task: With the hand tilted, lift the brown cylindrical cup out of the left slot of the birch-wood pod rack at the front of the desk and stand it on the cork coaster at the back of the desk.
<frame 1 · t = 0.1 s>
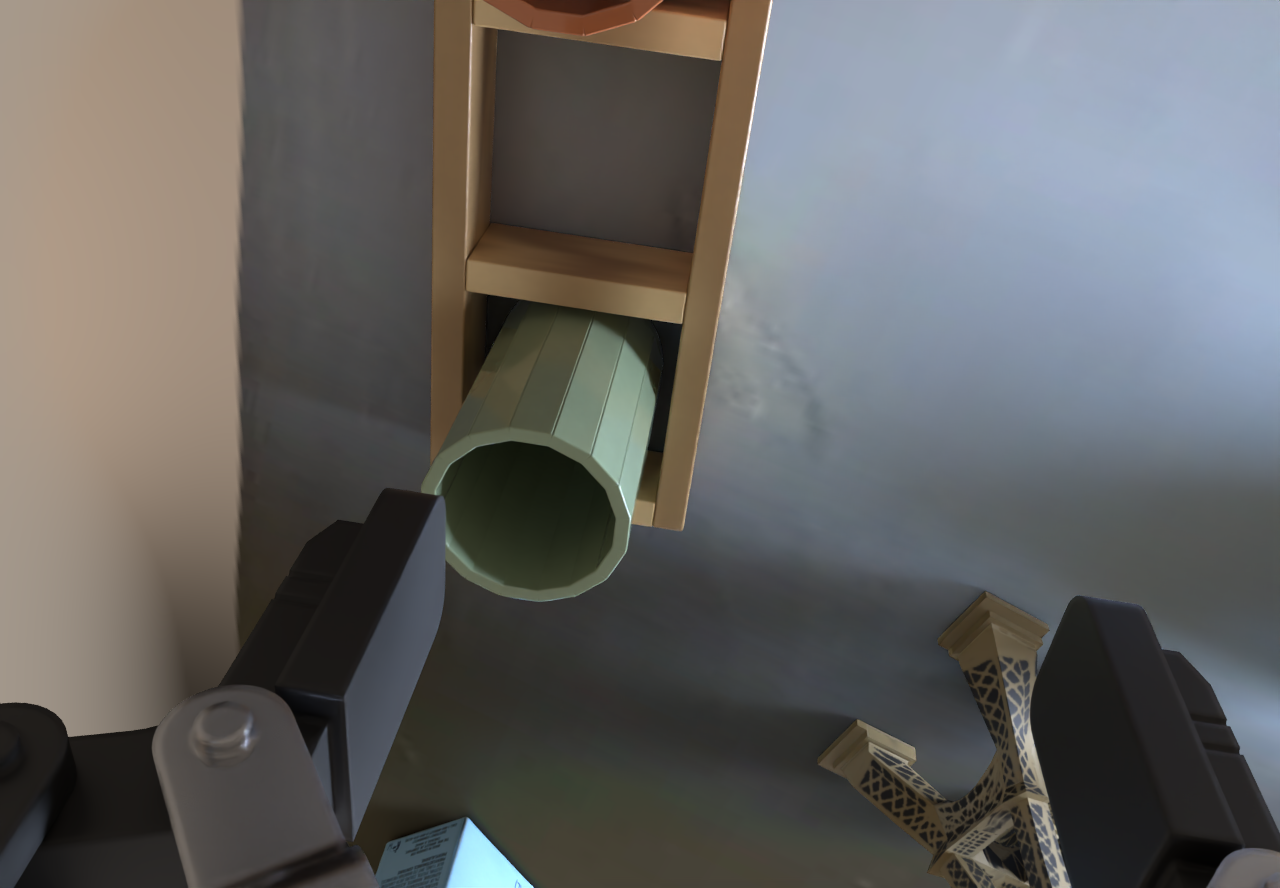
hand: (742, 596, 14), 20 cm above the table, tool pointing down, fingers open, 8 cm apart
pod rack: (601, 134, 31), on the table
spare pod: (581, 356, 35), resting in pod rack
eiffel tower: (1007, 733, 42), on the table
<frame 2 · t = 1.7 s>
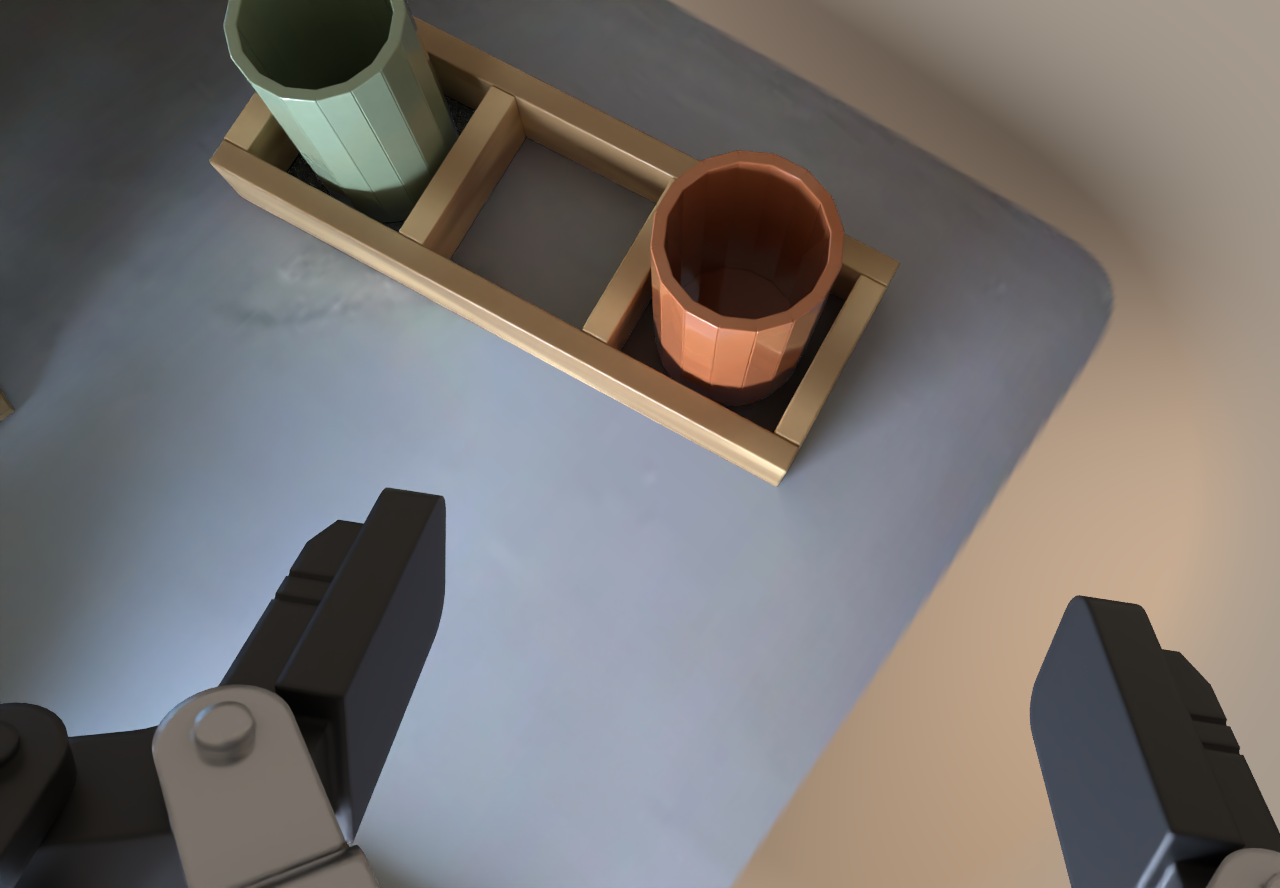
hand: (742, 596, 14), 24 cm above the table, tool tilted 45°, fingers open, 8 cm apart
pod rack: (556, 243, 40), on the table
brown cylindrical cup: (729, 334, 39), resting in pod rack
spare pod: (390, 156, 41), resting in pod rack
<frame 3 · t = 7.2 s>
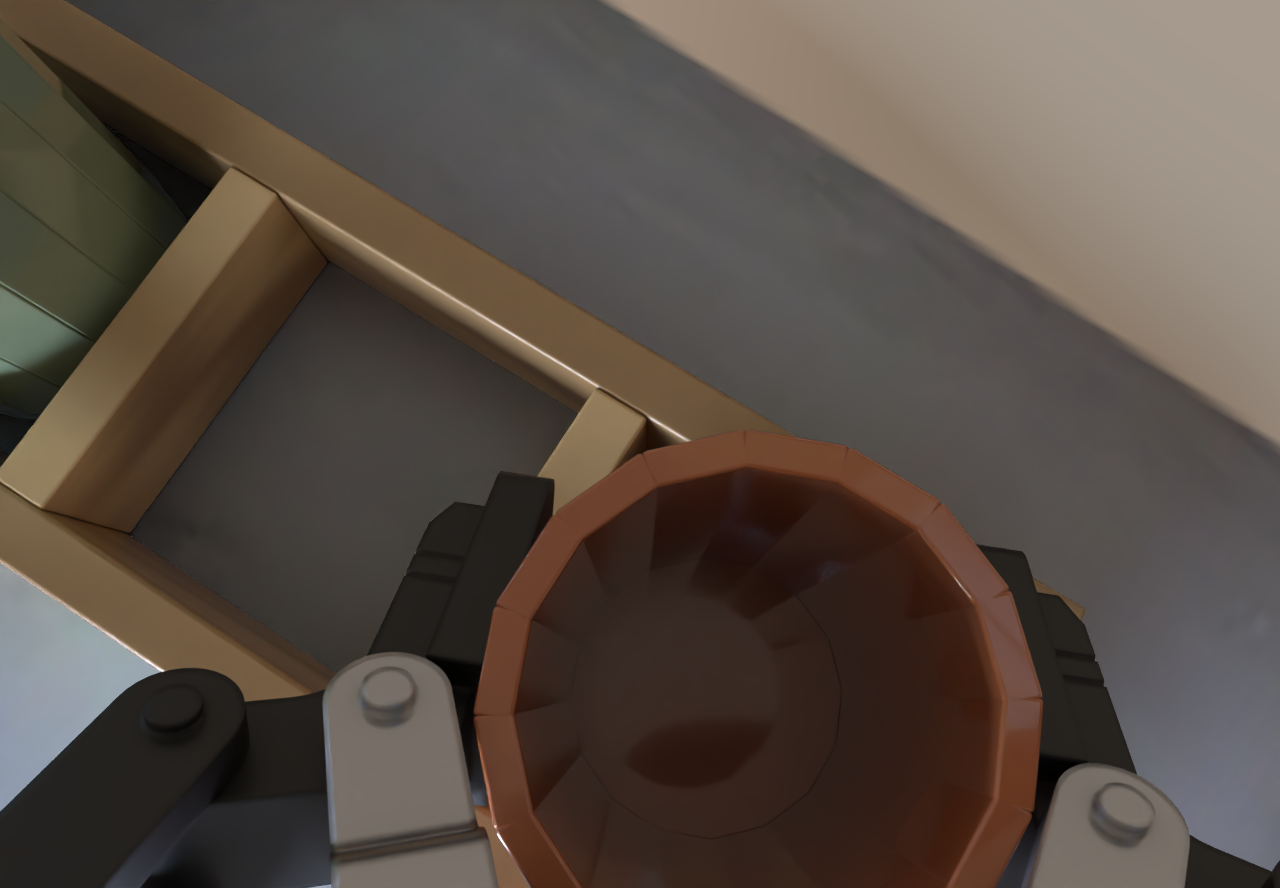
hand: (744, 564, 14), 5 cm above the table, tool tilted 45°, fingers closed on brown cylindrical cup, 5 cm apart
pod rack: (368, 481, 20), on the table
brown cylindrical cup: (704, 694, 19), resting in pod rack, touching gripper
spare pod: (61, 285, 21), resting in pod rack
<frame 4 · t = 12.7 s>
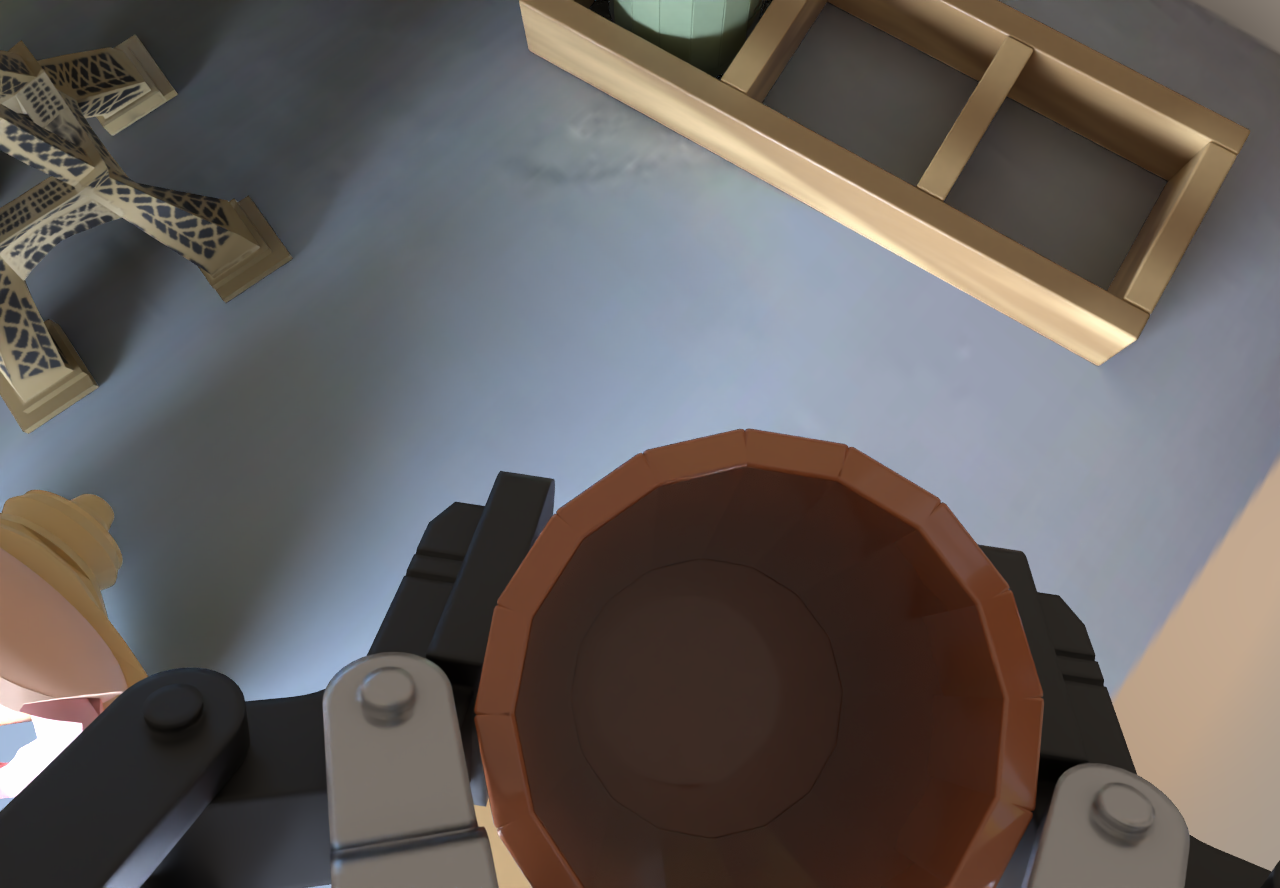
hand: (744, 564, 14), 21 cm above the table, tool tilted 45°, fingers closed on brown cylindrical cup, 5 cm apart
pod rack: (860, 110, 38), on the table
brown cylindrical cup: (704, 694, 19), point 15 cm above the table, touching gripper
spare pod: (685, 16, 39), resting in pod rack
eiffel tower: (89, 231, 38), on the table
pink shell: (81, 662, 35), on the table
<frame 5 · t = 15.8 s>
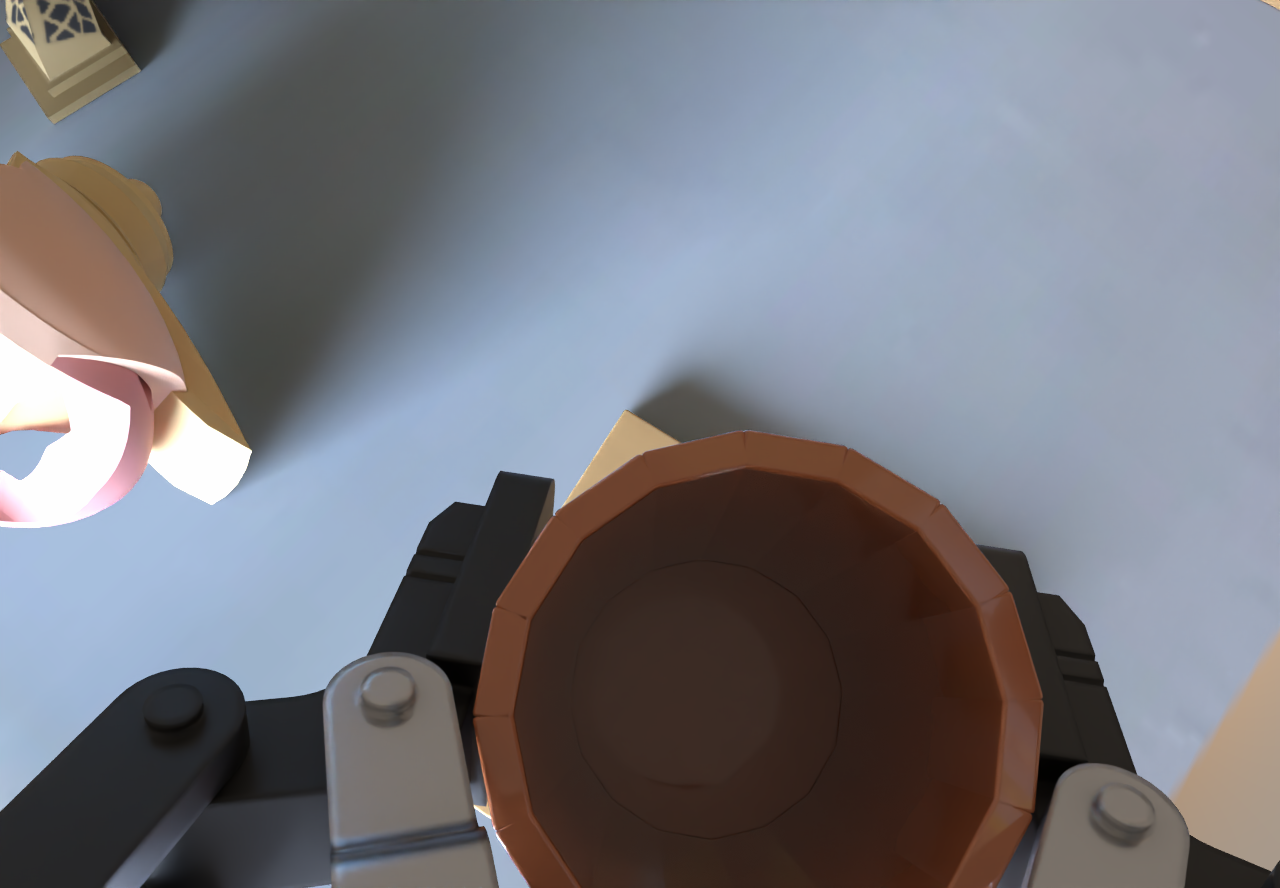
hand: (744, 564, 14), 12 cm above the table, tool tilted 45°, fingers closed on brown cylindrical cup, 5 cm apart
brown cylindrical cup: (704, 695, 19), point 7 cm above the table, touching gripper
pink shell: (119, 393, 28), on the table
coaster: (690, 688, 26), on the table
when the fingers open (6 cm above the table, at t = 18.1 s): brown cylindrical cup stays where it is, resting on coaster.
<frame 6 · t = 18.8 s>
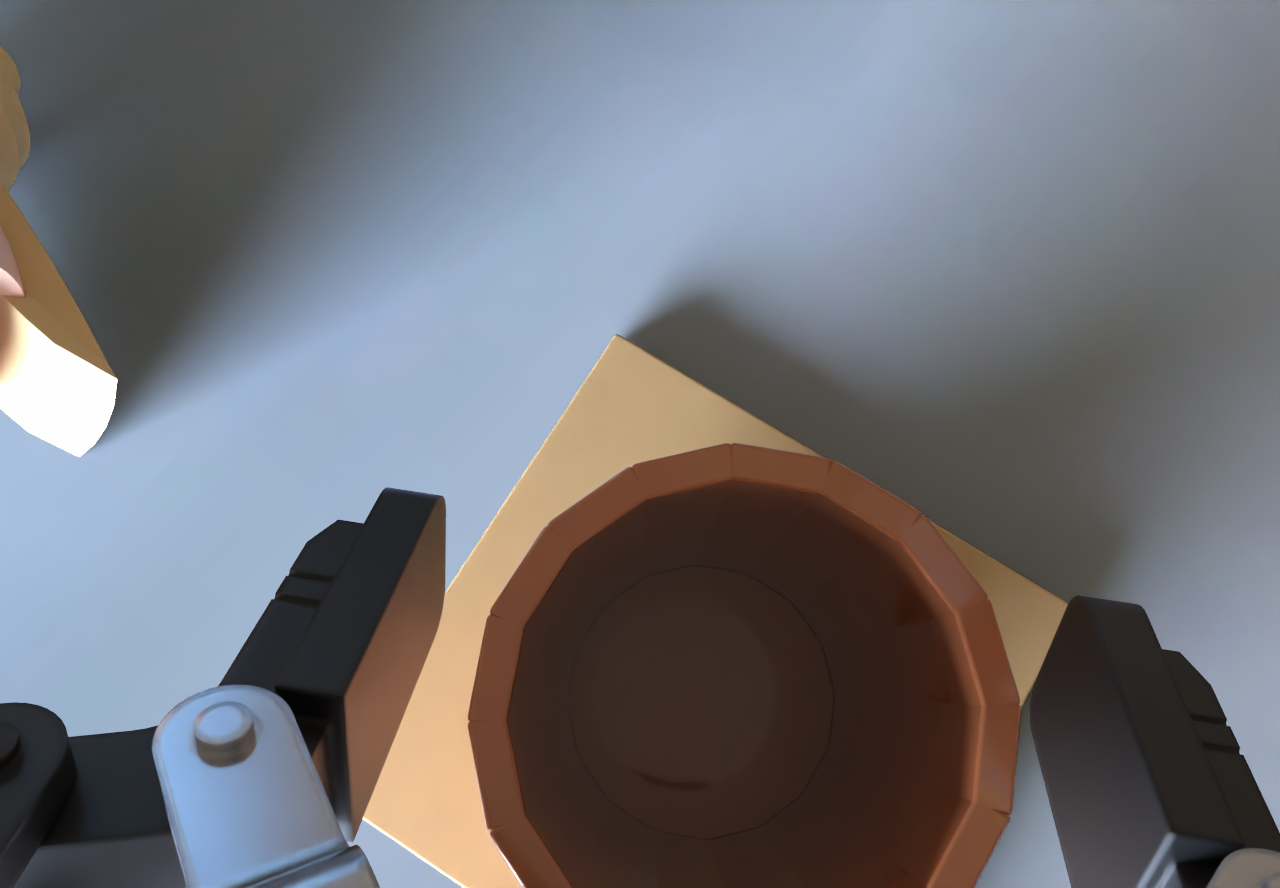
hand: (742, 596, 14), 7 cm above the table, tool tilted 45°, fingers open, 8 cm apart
brown cylindrical cup: (699, 698, 19), resting on coaster
coaster: (700, 695, 20), on the table
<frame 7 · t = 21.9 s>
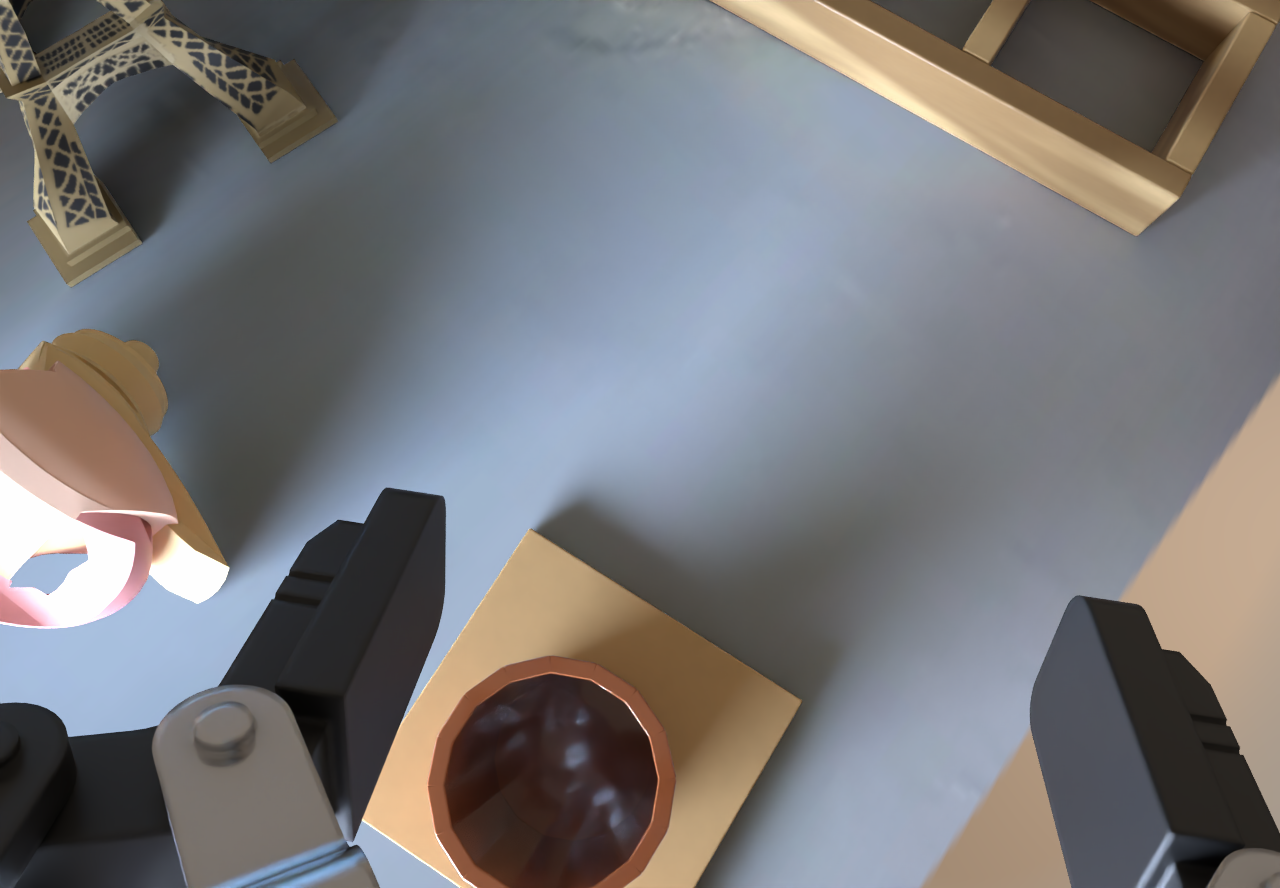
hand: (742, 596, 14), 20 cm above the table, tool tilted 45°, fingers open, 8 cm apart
brown cylindrical cup: (574, 755, 32), resting on coaster
eiffel tower: (133, 92, 38), on the table
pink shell: (123, 511, 35), on the table
coaster: (577, 753, 33), on the table
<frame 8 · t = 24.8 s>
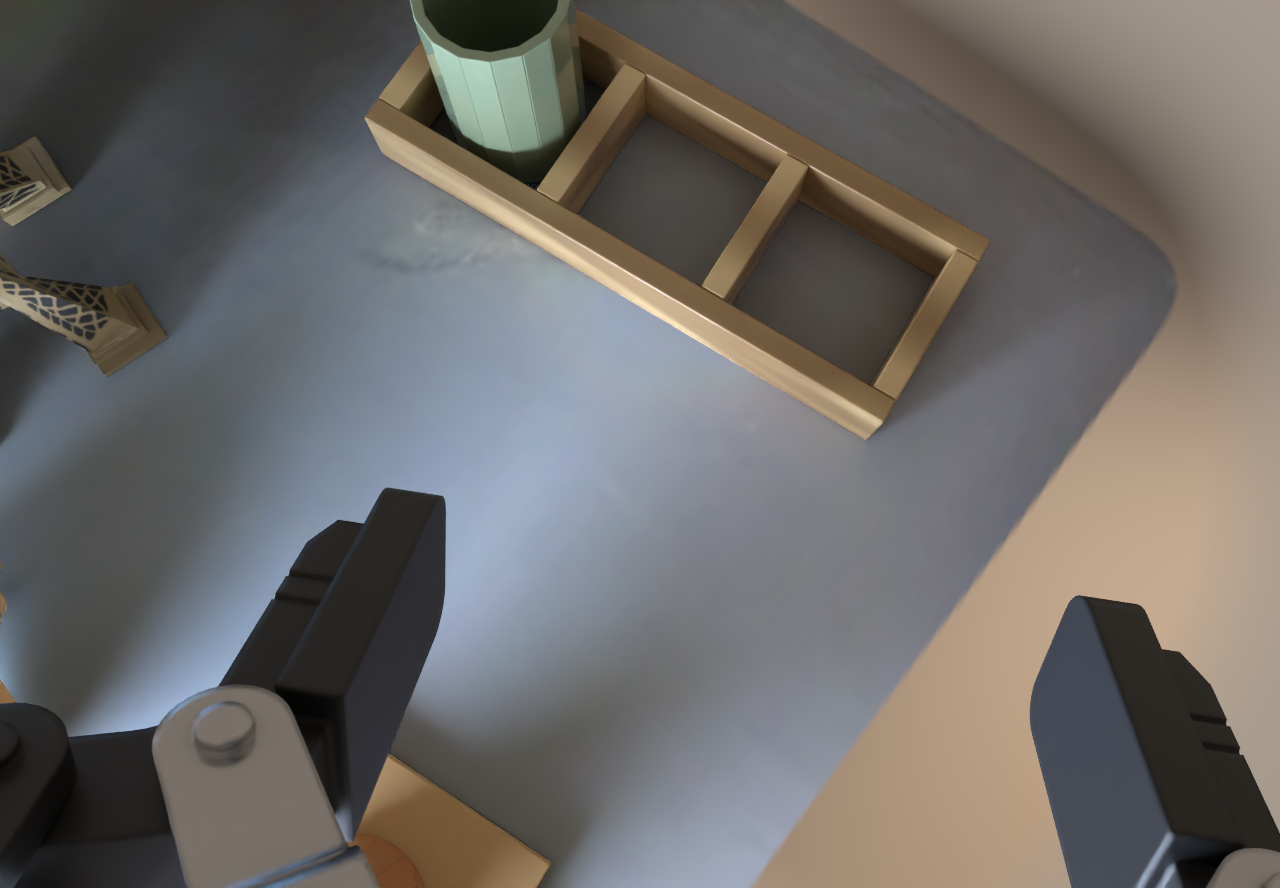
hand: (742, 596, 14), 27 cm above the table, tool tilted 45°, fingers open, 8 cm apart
pod rack: (671, 211, 44), on the table
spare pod: (521, 124, 44), resting in pod rack
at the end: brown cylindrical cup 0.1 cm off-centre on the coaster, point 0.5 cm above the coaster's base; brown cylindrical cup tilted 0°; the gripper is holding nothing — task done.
